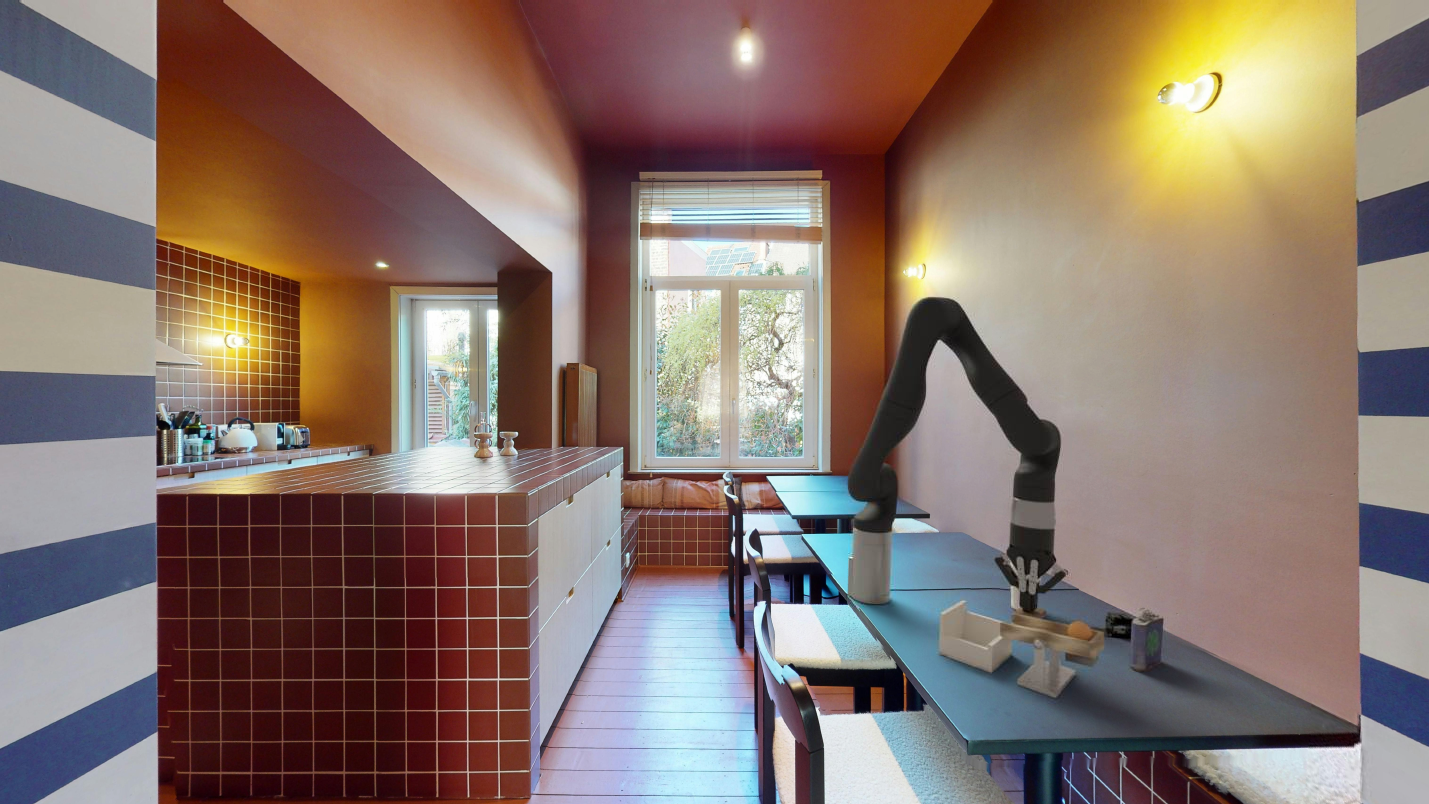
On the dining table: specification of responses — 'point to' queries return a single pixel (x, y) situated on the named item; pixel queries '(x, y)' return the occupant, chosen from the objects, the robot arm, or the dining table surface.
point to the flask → (1146, 641)
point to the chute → (1053, 636)
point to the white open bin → (972, 638)
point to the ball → (1080, 631)
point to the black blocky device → (1116, 620)
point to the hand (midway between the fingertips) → (1028, 610)
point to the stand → (1046, 671)
